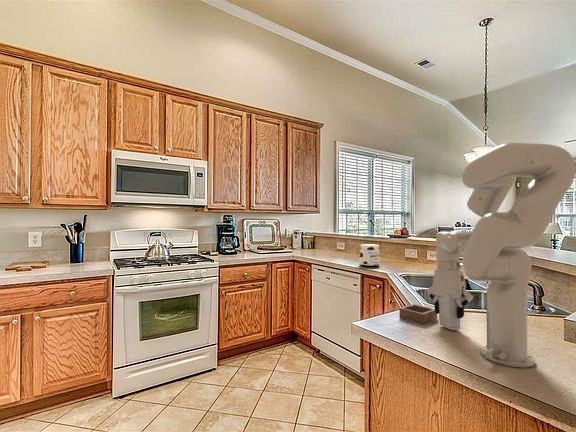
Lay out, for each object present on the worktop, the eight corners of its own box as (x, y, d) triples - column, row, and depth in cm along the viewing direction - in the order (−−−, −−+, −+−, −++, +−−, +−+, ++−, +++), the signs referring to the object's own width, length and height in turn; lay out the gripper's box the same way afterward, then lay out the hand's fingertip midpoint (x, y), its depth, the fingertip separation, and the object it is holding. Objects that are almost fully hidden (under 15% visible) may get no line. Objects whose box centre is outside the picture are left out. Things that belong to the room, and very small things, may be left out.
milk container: (378, 268, 253) (378, 246, 253) (357, 267, 260) (357, 245, 260) (381, 265, 269) (381, 244, 269) (361, 264, 276) (361, 243, 276)
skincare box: (461, 329, 111) (460, 294, 111) (449, 330, 110) (449, 295, 110) (448, 324, 117) (448, 291, 117) (438, 324, 116) (437, 291, 116)
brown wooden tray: (423, 325, 117) (423, 314, 117) (399, 318, 125) (399, 308, 125) (436, 319, 123) (436, 309, 123) (413, 313, 131) (413, 304, 131)
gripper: (478, 267, 109) (479, 319, 109) (430, 263, 123) (430, 308, 122) (469, 269, 105) (470, 323, 104) (419, 264, 118) (420, 312, 118)
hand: (449, 315), depth 113 cm, fingers closed on skincare box, 7 cm apart
